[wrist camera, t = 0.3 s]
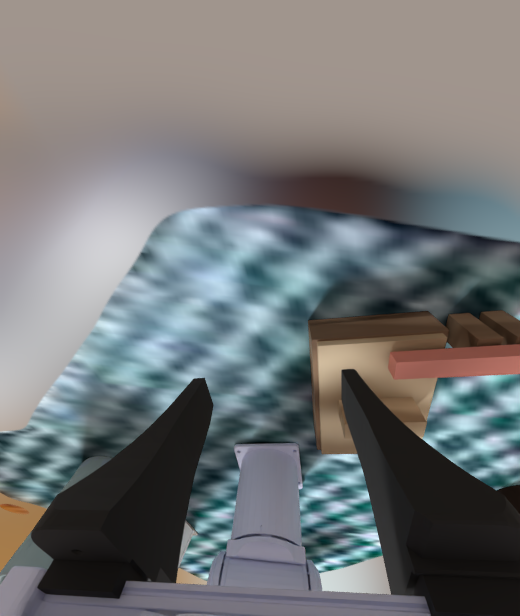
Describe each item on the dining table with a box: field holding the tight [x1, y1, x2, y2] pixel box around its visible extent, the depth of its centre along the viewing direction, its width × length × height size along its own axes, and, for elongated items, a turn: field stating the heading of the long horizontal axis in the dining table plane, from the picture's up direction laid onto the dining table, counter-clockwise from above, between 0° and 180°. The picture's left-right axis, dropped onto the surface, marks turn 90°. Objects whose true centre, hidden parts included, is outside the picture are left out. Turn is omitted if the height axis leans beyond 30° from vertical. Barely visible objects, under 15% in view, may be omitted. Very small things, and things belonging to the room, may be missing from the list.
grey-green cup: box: [0, 456, 112, 584], centre depth 32 cm, size 10×10×12 cm
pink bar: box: [388, 344, 520, 380], centre depth 18 cm, size 2×10×1 cm, turn 98°
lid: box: [317, 333, 447, 454], centre depth 21 cm, size 14×9×3 cm
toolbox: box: [308, 310, 520, 450], centre depth 23 cm, size 14×16×4 cm
